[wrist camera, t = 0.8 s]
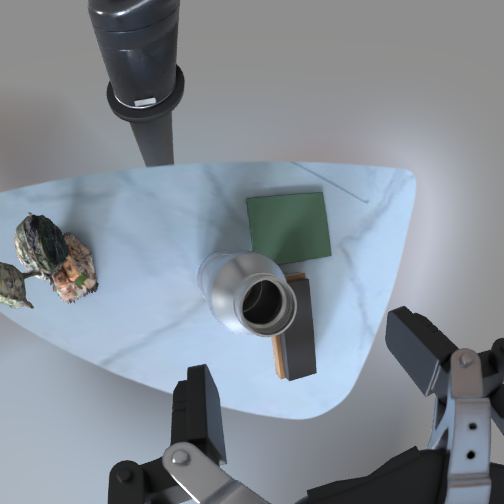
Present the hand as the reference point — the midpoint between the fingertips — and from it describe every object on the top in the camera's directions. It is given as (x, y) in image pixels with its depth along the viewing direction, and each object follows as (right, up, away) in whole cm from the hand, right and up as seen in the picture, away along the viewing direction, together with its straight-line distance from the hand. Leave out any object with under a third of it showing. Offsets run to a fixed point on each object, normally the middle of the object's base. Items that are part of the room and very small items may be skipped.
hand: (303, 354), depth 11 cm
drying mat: (+3, +7, +27) cm, 28 cm away
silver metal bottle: (-6, +1, +25) cm, 26 cm away
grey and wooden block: (+3, -6, +27) cm, 28 cm away
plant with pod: (-26, +3, +20) cm, 33 cm away
